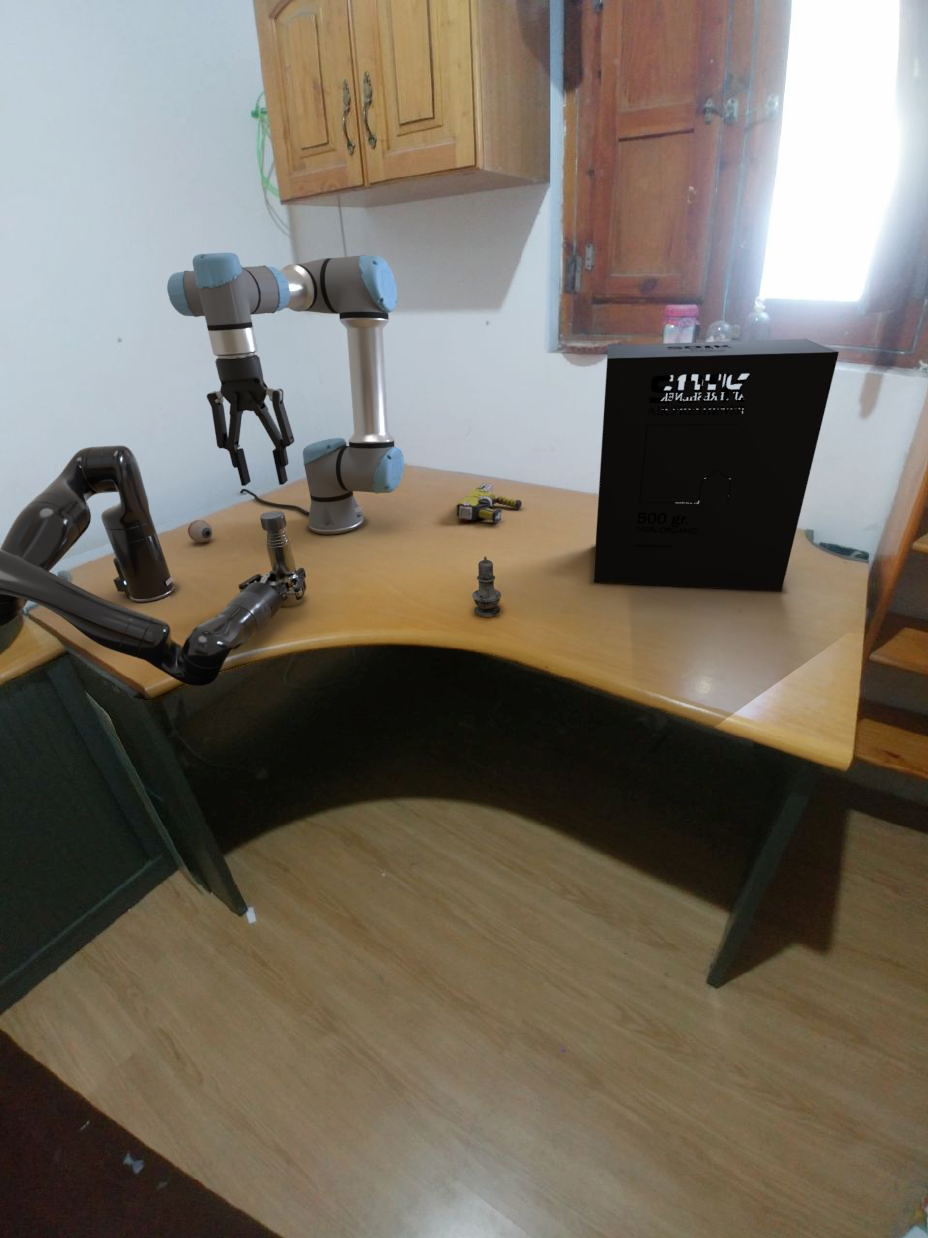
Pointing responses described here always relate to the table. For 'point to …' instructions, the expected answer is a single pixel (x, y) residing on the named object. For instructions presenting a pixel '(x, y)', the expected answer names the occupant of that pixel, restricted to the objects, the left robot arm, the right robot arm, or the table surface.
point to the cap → (273, 520)
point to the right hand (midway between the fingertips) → (264, 482)
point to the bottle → (281, 559)
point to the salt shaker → (486, 591)
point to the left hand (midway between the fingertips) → (291, 571)
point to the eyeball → (200, 531)
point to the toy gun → (483, 505)
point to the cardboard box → (707, 461)
